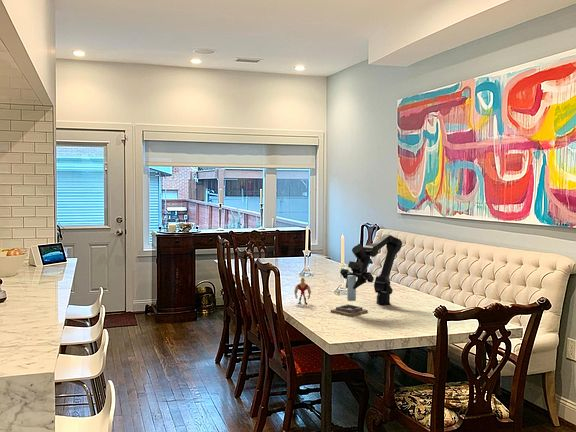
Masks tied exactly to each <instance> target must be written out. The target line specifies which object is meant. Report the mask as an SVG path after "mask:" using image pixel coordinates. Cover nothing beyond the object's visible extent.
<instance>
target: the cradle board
mask: <svg viewBox="0 0 576 432" xmlns="http://www.w3.org/2000/svg"><path fill="white" fill-rule="evenodd" d="M368 310H369V309H368ZM368 310H367V309H365V308H364V309H363V307H362V306H357V305H352V304H348V303H347V304H343V305H340V306H336V307H335V308H334V309H330V313H333V314H337V315H342V316H345V317H346V316H347V317H355V316H359V315H362V314H363V315H364V314H367V313H368Z"/></svg>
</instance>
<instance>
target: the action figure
mask: <svg viewBox="0 0 576 432" xmlns="http://www.w3.org/2000/svg"><path fill="white" fill-rule="evenodd" d="M306 290H307V293H308V295H307V298H306V295H305V291H306ZM298 291H300V296H299V299H298V295H297V294H298ZM311 293H312V291H311V286H310V285H308V284H307V283H306V282H305V278H303V277H301V279H300V283H298V284H297V285H296V286H295V287H294V297H295V299H296V300H299V301H298V303H297V304H298V305H300V304H301V303H302V301H301V300H302V297H303V300H304V302H303V303H304V304H305V305H308V303H307V300H309V299H310V298H311Z"/></svg>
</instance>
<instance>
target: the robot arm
mask: <svg viewBox="0 0 576 432" xmlns="http://www.w3.org/2000/svg"><path fill="white" fill-rule="evenodd" d="M384 247H386V251H387V253H386V256H385V259H384V261H383V266H382V267H381V272H380V274H379V275H377V276H375V277H374V276H373V275H372V273H371V272H369V271H368V266H369V264H370V265H372V264H373V261H372V260H373V259H372V258H375V257H376V256H377V255H378V254H379V251H380V249H382V248H384ZM402 247H403V242H402V240H401V239H400V238H397V237H395V236H393V235H392V234H388V233H387V234H382V236H381V237H380V238H378V239H377V240H375V241H373V243H369V244H366V245H364V246H363V244H362V243H357V245H355V246H353V247H352V250H351V252H352V253H353V256H355V258H356V259H357V260H358V261H351V260H350V261H348V266H347V268H350V269H346V268H342V269H340V272H339V273H340V275H341V276H342V278H343V279H345V280H346V283H345V289H348V275H355V276H356V283H355V285H354V287H353V289H356V290H357V288H359V287H360V286H361V285H363V284H367V283H373V282H374V283H373V289H374V293H376V301H375V302H376V304H378V305H382V306H384V305H391V304H392V303H391V301H390V299H391V297H390V296H391V295H392V294H393V291H394V290H393V288H392V287H391V280H390V275H391V271H392V269H393V266H394V265H393V264H394V261H395V258H396V255H397V254H398V253H399V252H400V251H401V249H402ZM371 257H372V258H371ZM374 279H375V280H374Z"/></svg>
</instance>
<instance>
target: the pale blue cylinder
mask: <svg viewBox="0 0 576 432" xmlns="http://www.w3.org/2000/svg"><path fill="white" fill-rule="evenodd" d="M356 281H357V277H356V276H355V275H348V288H347V297H346V298H347V301H349V302H356V300H357V297H356V296H357V288H356V289H353V287H354V285H355V283H356Z"/></svg>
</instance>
